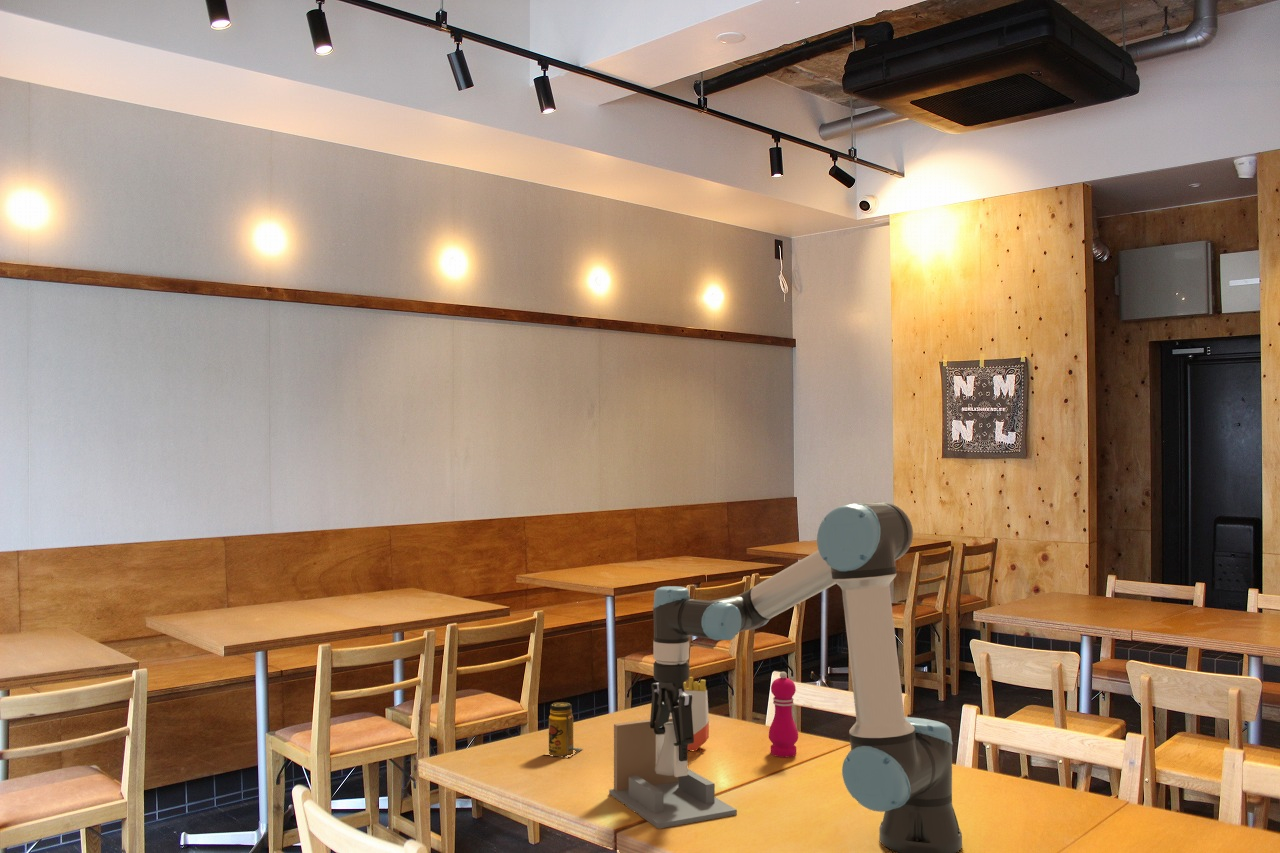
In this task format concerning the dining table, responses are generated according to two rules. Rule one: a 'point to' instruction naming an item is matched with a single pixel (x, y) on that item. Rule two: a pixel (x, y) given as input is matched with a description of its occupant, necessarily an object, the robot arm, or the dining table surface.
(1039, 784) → the dining table surface
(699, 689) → the french fries container
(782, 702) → the pepper mill
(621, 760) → the shaker holder
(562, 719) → the condiment
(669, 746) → the flask
